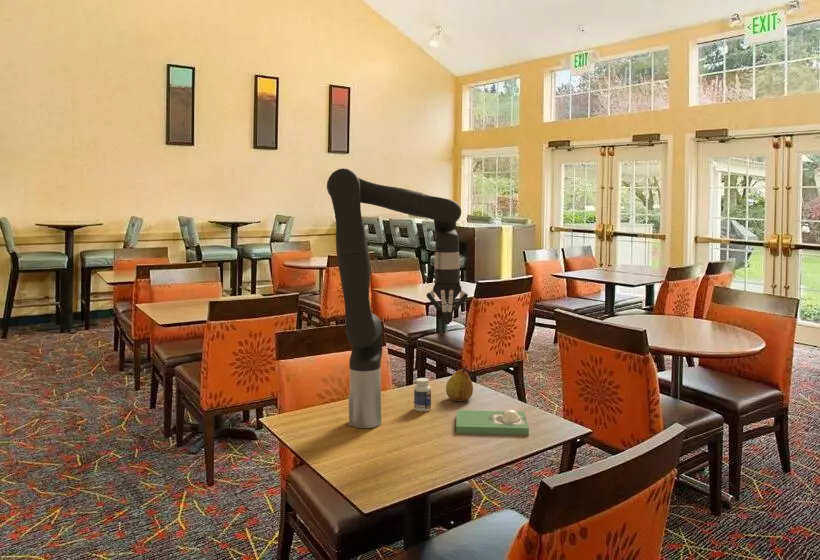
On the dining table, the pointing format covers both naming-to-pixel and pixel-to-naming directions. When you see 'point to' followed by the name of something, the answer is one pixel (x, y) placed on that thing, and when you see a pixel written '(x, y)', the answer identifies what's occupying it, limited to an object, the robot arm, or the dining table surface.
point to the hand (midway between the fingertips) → (447, 323)
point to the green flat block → (489, 423)
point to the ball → (510, 417)
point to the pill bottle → (422, 395)
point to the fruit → (459, 386)
